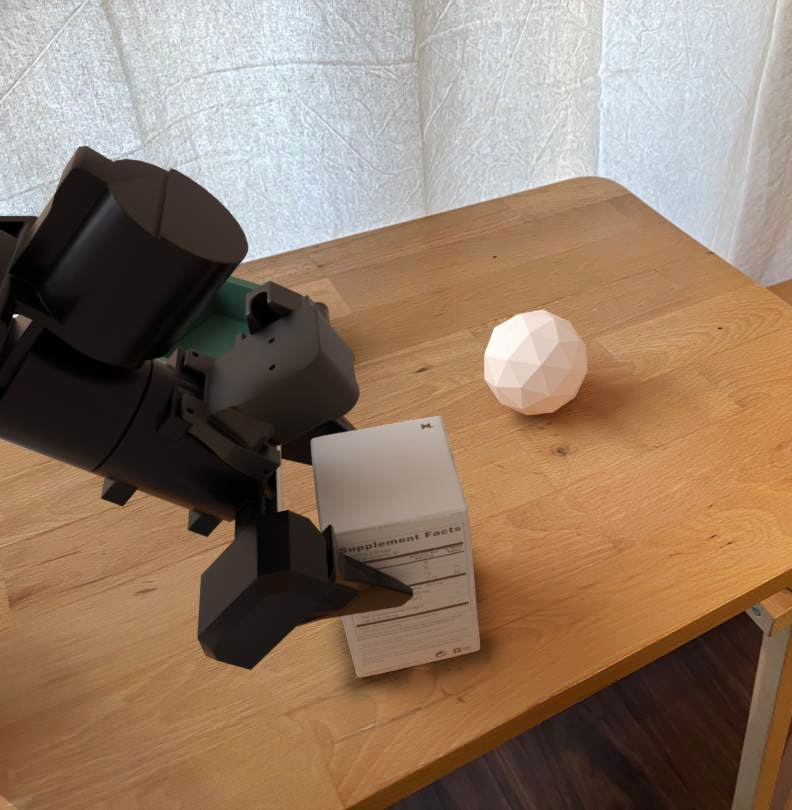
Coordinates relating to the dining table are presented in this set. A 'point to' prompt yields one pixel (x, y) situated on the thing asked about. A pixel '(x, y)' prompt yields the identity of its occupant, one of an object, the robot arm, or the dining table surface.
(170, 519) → the dining table surface
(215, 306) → the bin
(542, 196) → the dining table surface
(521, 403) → the geometric ball
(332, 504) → the white packaging box
